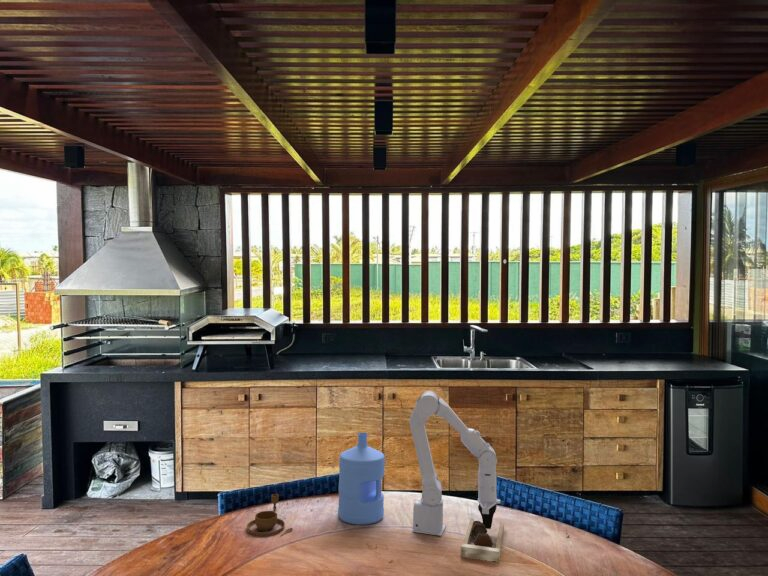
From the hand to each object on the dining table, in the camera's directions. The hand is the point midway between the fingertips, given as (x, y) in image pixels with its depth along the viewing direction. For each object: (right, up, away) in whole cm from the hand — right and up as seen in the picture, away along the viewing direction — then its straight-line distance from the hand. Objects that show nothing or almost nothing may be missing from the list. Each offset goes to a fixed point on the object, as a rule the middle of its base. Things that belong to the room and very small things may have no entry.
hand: (487, 528), depth 173 cm
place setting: (-69, -1, +4) cm, 69 cm away
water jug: (-41, -1, +12) cm, 43 cm away
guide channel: (-2, -2, -6) cm, 7 cm away
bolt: (-3, -2, -6) cm, 7 cm away
